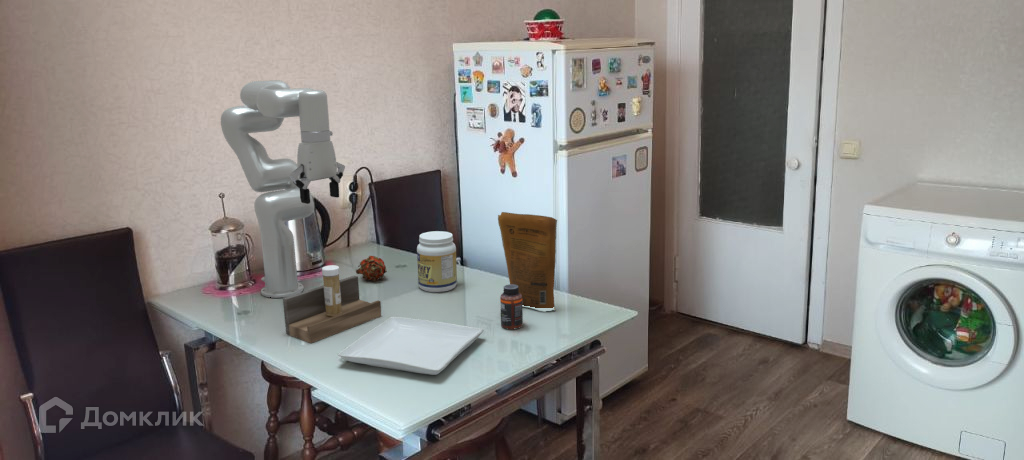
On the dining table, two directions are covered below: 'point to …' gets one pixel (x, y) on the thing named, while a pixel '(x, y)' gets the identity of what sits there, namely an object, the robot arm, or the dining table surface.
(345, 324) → the spice rack
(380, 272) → the dragon fruit
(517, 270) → the pancake mix bag
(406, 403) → the dining table surface
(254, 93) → the robot arm
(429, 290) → the supplement tub
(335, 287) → the sprinkles bottle
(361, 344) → the square plate
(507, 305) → the supplement bottle
